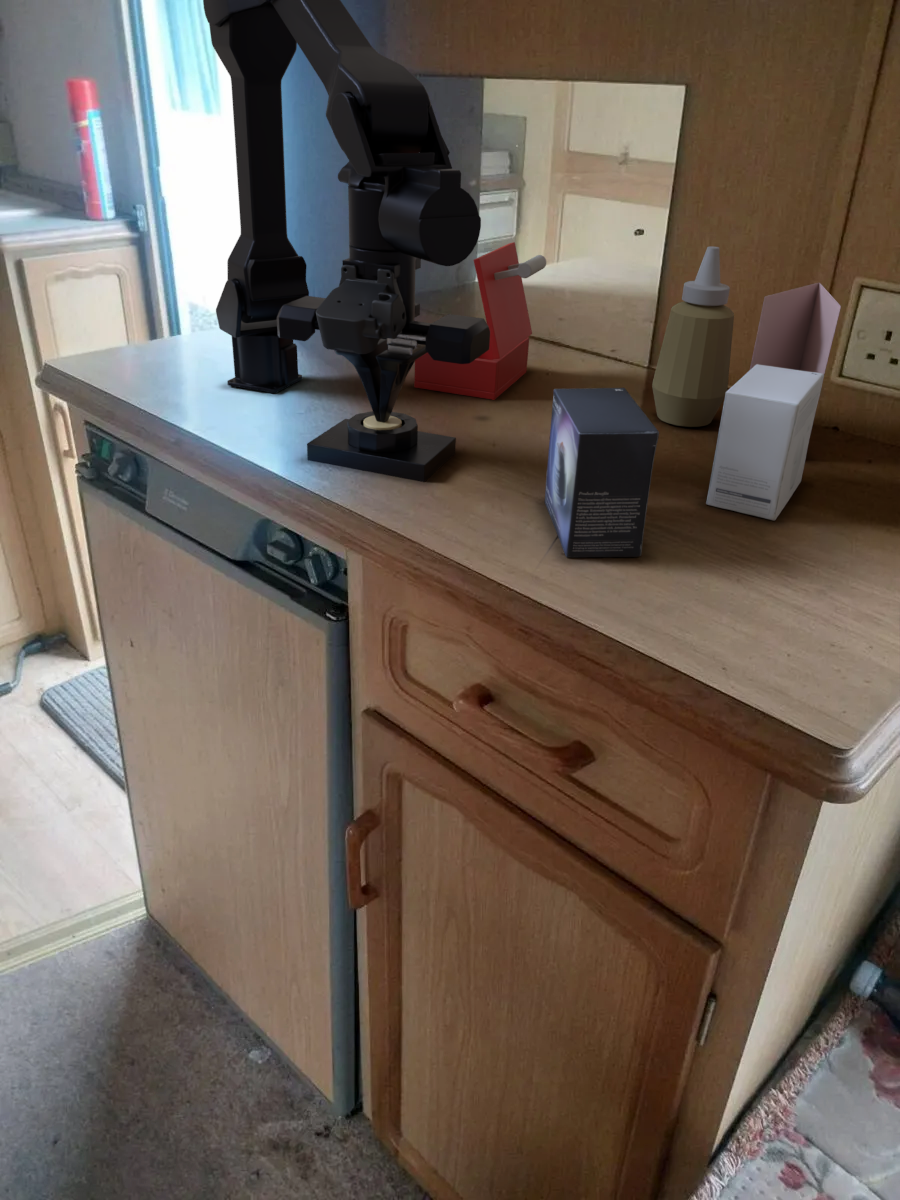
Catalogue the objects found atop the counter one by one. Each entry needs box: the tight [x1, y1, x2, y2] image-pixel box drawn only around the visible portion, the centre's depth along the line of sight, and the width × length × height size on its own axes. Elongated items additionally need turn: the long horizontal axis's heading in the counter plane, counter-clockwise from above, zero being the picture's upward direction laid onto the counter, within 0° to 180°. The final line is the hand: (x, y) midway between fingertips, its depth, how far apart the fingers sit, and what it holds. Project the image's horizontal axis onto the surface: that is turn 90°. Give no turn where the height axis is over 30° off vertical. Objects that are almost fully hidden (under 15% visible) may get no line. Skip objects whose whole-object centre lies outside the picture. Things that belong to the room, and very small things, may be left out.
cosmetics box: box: [705, 364, 825, 521], centre depth 81 cm, size 10×6×10 cm, turn 150°
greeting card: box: [749, 282, 842, 375], centre depth 92 cm, size 11×7×15 cm, turn 135°
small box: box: [544, 387, 660, 558], centre depth 73 cm, size 11×6×10 cm, turn 5°
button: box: [364, 416, 402, 430], centre depth 86 cm, size 4×4×2 cm
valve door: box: [473, 241, 547, 359], centre depth 104 cm, size 11×13×5 cm
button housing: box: [306, 410, 457, 483], centre depth 87 cm, size 12×8×4 cm, turn 69°
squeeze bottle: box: [651, 246, 735, 428], centre depth 96 cm, size 8×8×18 cm
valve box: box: [413, 337, 530, 401], centre depth 110 cm, size 10×13×4 cm
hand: (382, 420), depth 86 cm, fingers closed, pressing on button
